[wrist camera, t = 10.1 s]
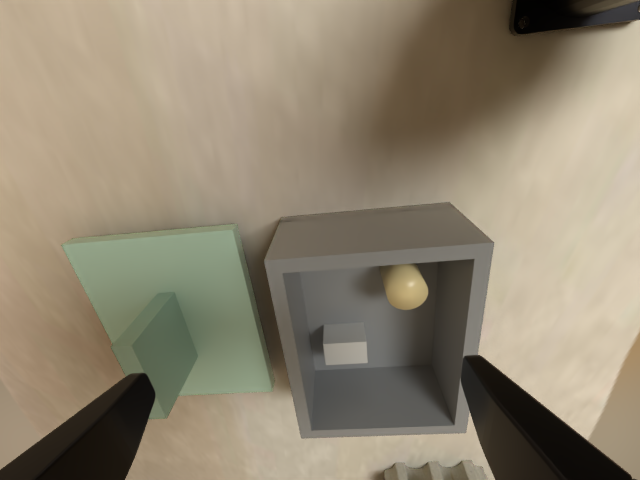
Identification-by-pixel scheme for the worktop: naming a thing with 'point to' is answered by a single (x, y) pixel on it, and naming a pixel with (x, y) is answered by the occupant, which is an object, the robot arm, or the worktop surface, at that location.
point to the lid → (177, 309)
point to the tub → (379, 317)
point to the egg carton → (436, 472)
